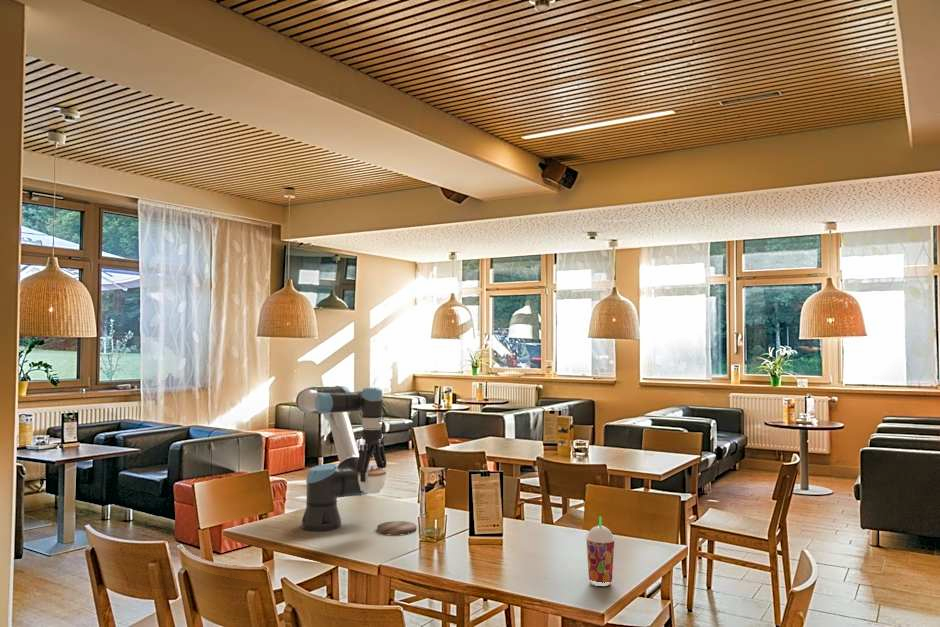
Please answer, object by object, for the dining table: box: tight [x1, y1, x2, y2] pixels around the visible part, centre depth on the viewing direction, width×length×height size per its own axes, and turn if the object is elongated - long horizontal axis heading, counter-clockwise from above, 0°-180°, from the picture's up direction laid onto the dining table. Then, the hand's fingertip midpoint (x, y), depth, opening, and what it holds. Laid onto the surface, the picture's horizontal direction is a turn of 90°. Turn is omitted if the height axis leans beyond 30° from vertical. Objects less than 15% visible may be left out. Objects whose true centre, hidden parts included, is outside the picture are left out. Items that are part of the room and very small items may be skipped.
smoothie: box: [586, 516, 615, 583], centre depth 216 cm, size 8×8×20 cm
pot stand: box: [376, 520, 418, 536], centre depth 276 cm, size 15×15×2 cm
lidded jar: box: [358, 466, 387, 494], centre depth 270 cm, size 11×11×9 cm
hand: (371, 487), depth 270 cm, fingers closed on lidded jar, 11 cm apart
